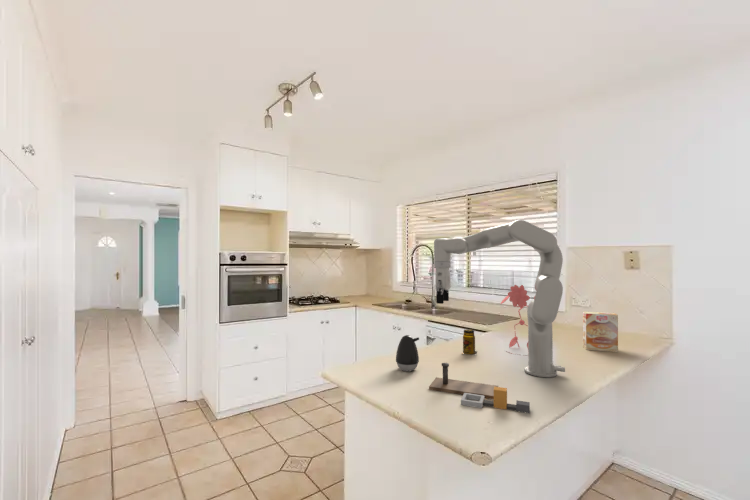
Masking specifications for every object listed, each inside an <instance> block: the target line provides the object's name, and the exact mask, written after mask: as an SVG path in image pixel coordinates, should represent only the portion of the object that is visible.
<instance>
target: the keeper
mask: <svg viewBox="0 0 750 500" xmlns="http://www.w3.org/2000/svg"><path fill="white" fill-rule="evenodd" d="M441 367H442V377H437V376H436V377H434V379H433V381H432V382H431V383H430V385H429V386H428V390H429V391H435V392H442V393H450V394H456V395H462V396H463V394H464V393H470V394H477V395H483V396H485V399H486V400H494V386H495V387H499V385H495V384H488V383H480V382H473V381H467V380H460V379H450V378H449V367H450V363H448V362H442V363H441Z"/></svg>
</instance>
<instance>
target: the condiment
mask: <svg viewBox="0 0 750 500" xmlns="http://www.w3.org/2000/svg"><path fill="white" fill-rule="evenodd" d="M462 352H463V353H464V354H463V355H466V356H477V353H478V351H477V350H476V336H475V330H474V329H472V328H471V329H470V328H468V329H467V328H466V329H464V330H463V334H462Z"/></svg>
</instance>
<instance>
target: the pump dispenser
mask: <svg viewBox="0 0 750 500" xmlns="http://www.w3.org/2000/svg"><path fill="white" fill-rule="evenodd" d="M417 341H420V337H415V338H413V337H412V336H411V335H409V334H406V335H404V336H402V337H401V339H400V341H399V342H398V346H397V350H396V355H395V362H396V365H397V367H398V368H399V370H401V371H403V372H412V371H414V370H416V369H417V367H418V364H419V363H420V357H419V351H418V346H417V344H416V342H417Z"/></svg>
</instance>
